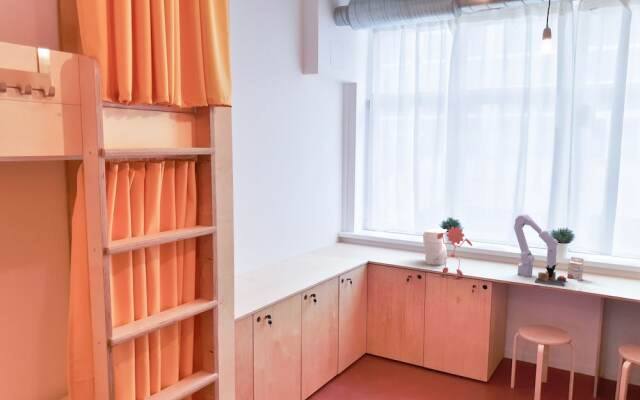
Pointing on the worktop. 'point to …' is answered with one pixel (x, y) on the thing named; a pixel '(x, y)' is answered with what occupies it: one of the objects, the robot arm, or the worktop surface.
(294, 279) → the worktop surface
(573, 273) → the ink cartridge box
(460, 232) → the figurine
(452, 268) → the worktop surface
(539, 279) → the block
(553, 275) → the block
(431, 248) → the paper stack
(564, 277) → the button housing
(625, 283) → the worktop surface
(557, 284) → the grey divided tray
